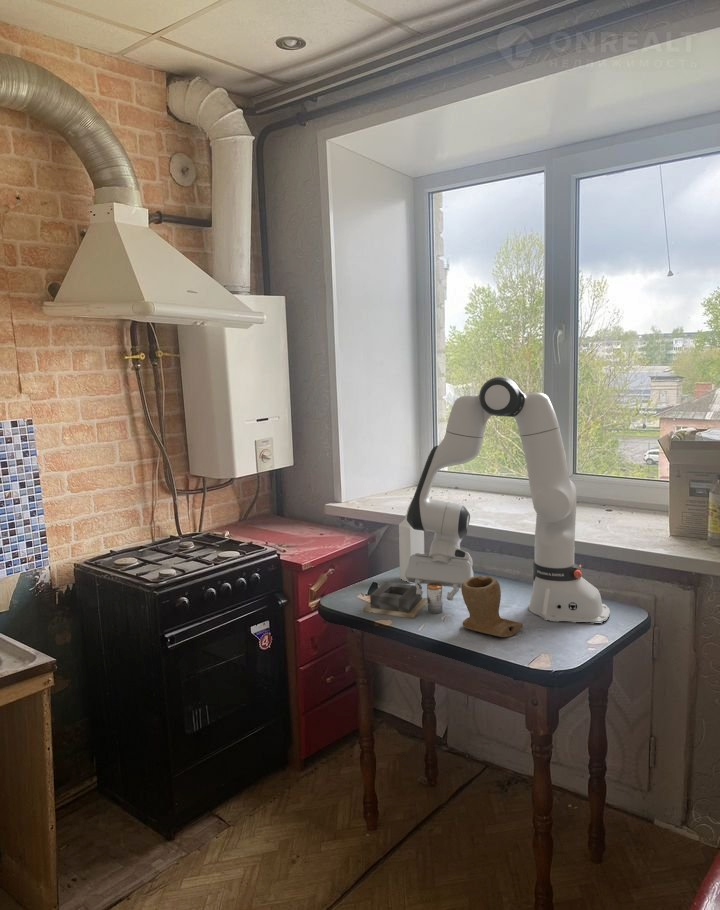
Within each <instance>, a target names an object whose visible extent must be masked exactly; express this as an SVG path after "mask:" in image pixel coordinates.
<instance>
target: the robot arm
mask: <svg viewBox="0 0 720 910" xmlns="http://www.w3.org/2000/svg"><path fill="white" fill-rule="evenodd" d="M493 416H495V417H506V418H507V417H509V418H514V419H515V422H516V425H517V428H518V432H519V436H520V437H519V438H520V440H521V444H522V449H523V450H522V451H523V453H524V457H525V461H526V462H525V464H526V469H527V476H528V484H529V488H530V489H529V490H530V494H531V500H532V505H533V509H534V511H535V512H536V516H535V517H536V518H535V531H534V560H533V562H532V580H533V585H532V591H531V592H532V593H531V596H530V601H529V604H528V610H529V611H530V612H531V613H533V614H535V615H537V616H539V617H541V618H542V619H543V618H544V619H543V620H545V621H547V620H550V621H549V622H559V621H572V622H571V623H576V622H602V621H604V620H606V619H607V618H608V617H609V614H610V615H611V610H610V608H609V607H608V606H607V604H605V603H602V597H601V596H602V595H601V593H600V591H599V590H598V588H597V587H596V586H594V585H593V584H591V582H589V581H587V580H586V579H585V578H584V577H582V575H583V570H582V565H581V564H579V565H578V564H577V563H576V562H575V549H576V547H575V539H576V519H577V518H576V514H577V487H576V485H575V483H574V482H573V481H572V480H571V479H570V473H569V467H568V462H567V453H566V449H565V445H564V441H563V437H562V433H561V429H560V423H559V421H558V417H557V414H556V411H555V409H554V407H553V404H552V402H551V400H550V398H549V396H548V395H547V394H545V393H543V392H535V391H534V392H527V393H525V392H523V391H522V390H521V388H520V386H519V384H518V383H517V382H516V381H515V380H514V379H512V378H510V377H507V376H504V375H502V376H501V375H500V376H499V375H498V376H493V377H492V378H489V379H488V380H487V381H486V382H485V383H484V384H483V385H482V386H481V388H480V391H479V394H477V395H461V396H460V397H457V398H456V399H455V401H454V402H453V405H452V407H451V410H450V412H449V416H448V420H447V424H446V428H445V435H444V437H443V439H442V440H441V442H440V443H439V444H438V445H435V446H433V447H432V448H431V450H430V452H429V454H428V457H427V459H426V461H425V464H424V467H423V470H422V472H421V474H420V475H421V476H420V478H419V481H418V484H417V486H416V489H415V493H414V495H413V498H412V499H411V501H410V503H409V505H408V507H407V510H406V514H407V522H408V523H409V524H410V526H411V527H412V528H413V529H414V530H422V531H424V532H425V531H426V532H432V533H434V536H433V539H432V542H431V544H430V548H429V551H428V553H424V554H420V553H415V554H414V555H412V556H410V559H409V564H408V567H407V569H406V572H405V576H406V578H407V580H408V581H409V582H414V583H413V584H415V585H414V586H416V588H417V591H416V595H417V596H420V597H422V598H423V593H424V591H423V588H422V589H420V588H419V586H422V584H424V585H428V584H430V583H439V584H441V585H442V587H448V588H452V590H451V591H450V592H447V594H446V595H447V596H446V599H447V601H453V600H454V596H455V595H457V594H458V592H459V591H460V589H461V588H462V583H463V582H464V581H465V580H467V579H469V578H471V577H474V570H473V564H474V562H473V558H472V557H471V555H470V553H469V552H467V551H465V550H462V549H461V542H462V541H463V538H465V537H466V536H467V535H468V529H469V525H470V522H471V521H470V520H471V515H470V512H469V510H468V509H467V508H466V506H464V505H462V504H459V503H455V502H454V503H453V502H450V501H444V500H437V499H433V498H431V497H429V495H430V491H431V489H432V486H433V484H434V481H435V478H436V475H437V473H438V472H439V471H441V470H442V469H444V468H447V467H453V466H459V465H464V464H466V463H469V462H471V461H472V460H474V459H477V457H478V455H480V452H481V449H482V446H483V442H484V437H485V436H484V435H485V432H486V425H487V422H488V421H489V419H490V418H491V417H493ZM409 582H408V583H409ZM609 618H610V617H609ZM551 620H552V621H551ZM573 621H574V622H573Z"/></svg>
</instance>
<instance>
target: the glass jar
mask: <svg viewBox="0 0 720 910" xmlns="http://www.w3.org/2000/svg"><path fill="white" fill-rule="evenodd" d="M426 594H427V595H426V598H427V605H426V607H427V608H426V609H427V613H428V614H429V615H441V614H443V610H444V609H443V586H442V585H441V584H439V583H430V584H426Z"/></svg>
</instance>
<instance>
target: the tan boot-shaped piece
mask: <svg viewBox="0 0 720 910" xmlns="http://www.w3.org/2000/svg"><path fill="white" fill-rule="evenodd" d="M460 589H461V595H462V599H463V602H464V604H465V606H466V608H467V611H468V614H469V617H467V618H465V619H464V620H463V621H462V623H461V625H462V627H464V628H466V629H468V630H471V631H474V632H477V633H478V632H479V633H481V634H486V635H490V636H495V637H500V638H509V637H512V636H514V635H516V634H517V633H519V632H521V630H522V629H523V628H524V623H521V622H518V621H514V620H509V619H506V618H503V617H501V616H500V607H501V606H500V605H501V600H502V599H501V597H502V595H501V593H502V591H501V586H500V583H499V581H498V580H497V579H496V578H495V577H493V576H491V575H488V576H486V575H485V576H482V575H476V576H473V577H471V578H469V579H467V580H465V581H464V582H463V583H462V588H460Z"/></svg>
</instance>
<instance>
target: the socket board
mask: <svg viewBox="0 0 720 910" xmlns="http://www.w3.org/2000/svg"><path fill="white" fill-rule="evenodd" d="M419 588H420V589H422V590H423V586H422V585H421V586H419ZM416 591H417V588H416V585H413V584H405V583H396V582H395V583H394V582H387V581H386V582H384V583H382V584H381V585H380V586H379V587H378V588H376V589H375V590H374V591H373V592H372V593H370V596H369V599H370V600H369V602H368V603H367V604H366V605H365V606H364V607H362V612H364V611H369V612H368V613H371V612H373V614H380V615H388V616H394V617H401V618H409V619H415V618H416V617H417V616H418V615H419V614H420V612H422V611H423V609H424V608H426V607H427V597H423V596H422V597H420V596H417V595H416Z"/></svg>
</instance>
